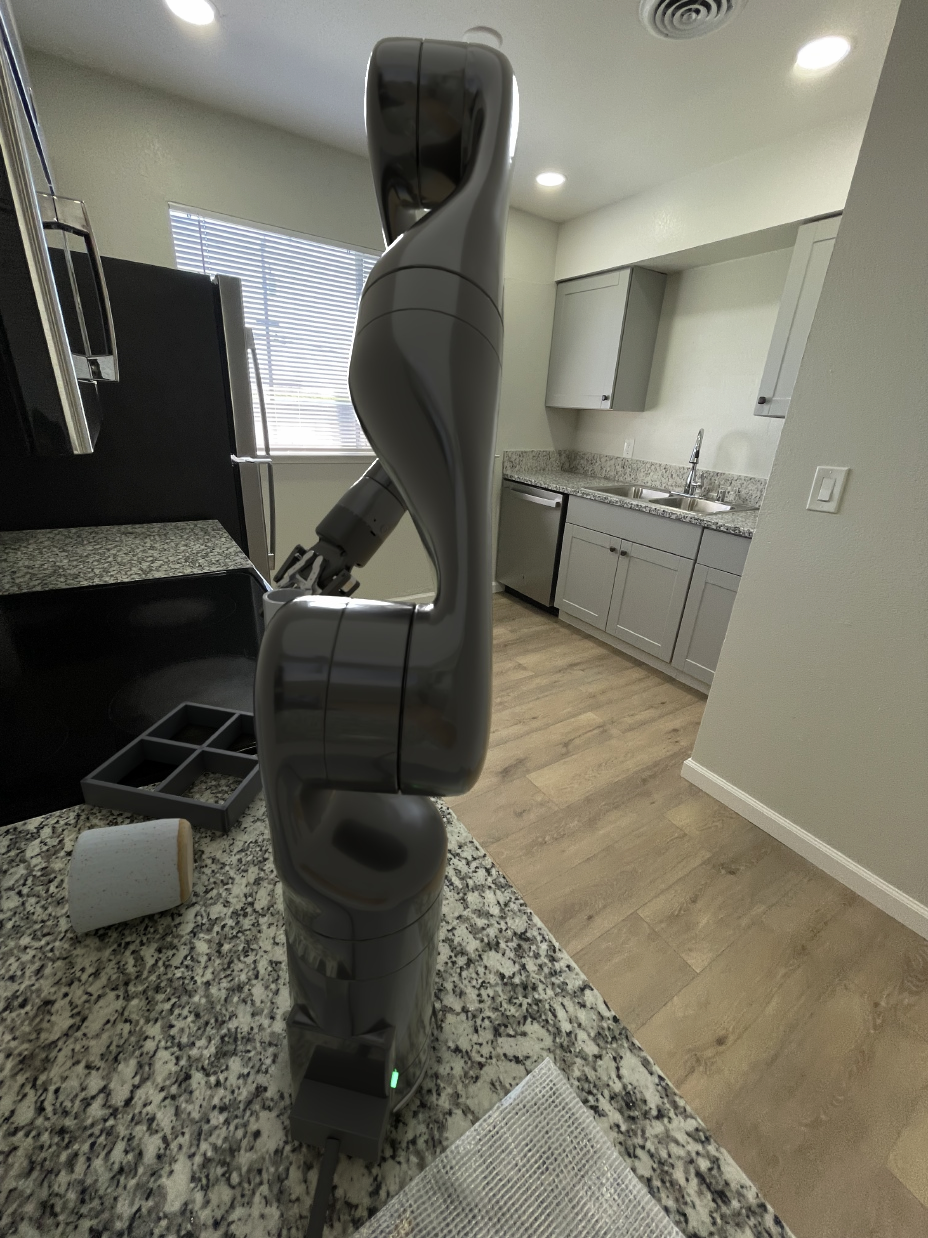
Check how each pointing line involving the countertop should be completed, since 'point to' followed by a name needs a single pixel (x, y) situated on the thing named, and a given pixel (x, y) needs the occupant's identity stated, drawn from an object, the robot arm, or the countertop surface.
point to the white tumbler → (278, 600)
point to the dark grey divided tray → (181, 769)
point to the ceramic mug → (129, 872)
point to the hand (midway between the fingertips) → (274, 627)
